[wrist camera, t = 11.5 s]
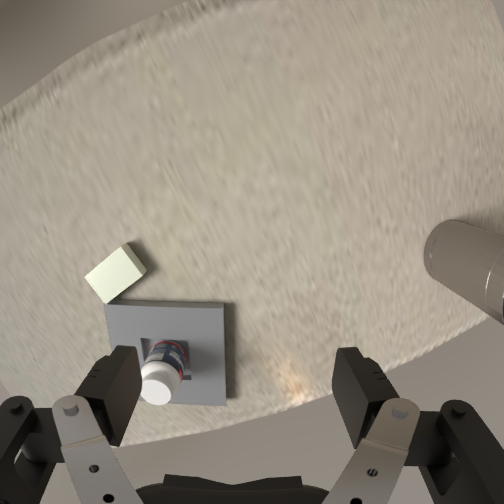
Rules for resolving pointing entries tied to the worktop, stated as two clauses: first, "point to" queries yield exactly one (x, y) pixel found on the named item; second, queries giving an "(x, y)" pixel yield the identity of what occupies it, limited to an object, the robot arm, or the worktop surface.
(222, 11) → the worktop surface
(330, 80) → the worktop surface
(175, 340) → the grey square slab
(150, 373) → the pill bottle
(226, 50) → the worktop surface
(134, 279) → the soap bar
